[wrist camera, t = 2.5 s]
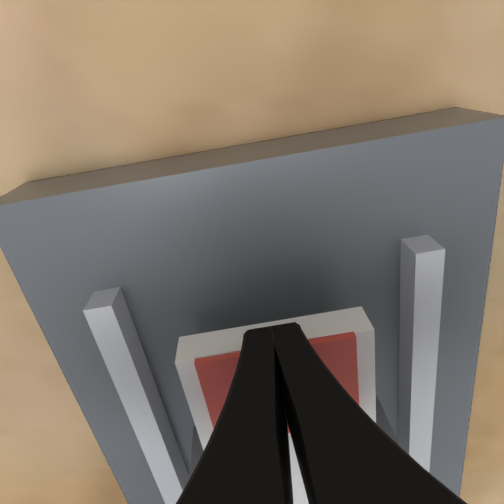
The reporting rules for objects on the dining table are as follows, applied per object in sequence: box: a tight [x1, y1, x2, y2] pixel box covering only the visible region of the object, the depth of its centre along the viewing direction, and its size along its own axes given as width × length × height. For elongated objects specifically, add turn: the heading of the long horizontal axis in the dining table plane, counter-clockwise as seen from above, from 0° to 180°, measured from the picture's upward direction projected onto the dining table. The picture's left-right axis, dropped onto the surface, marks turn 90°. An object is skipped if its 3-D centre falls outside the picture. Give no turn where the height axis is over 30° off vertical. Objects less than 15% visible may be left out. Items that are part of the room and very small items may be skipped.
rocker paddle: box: [175, 306, 376, 504], centre depth 13 cm, size 12×5×1 cm, turn 9°
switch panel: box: [0, 107, 504, 504], centre depth 15 cm, size 20×14×5 cm
